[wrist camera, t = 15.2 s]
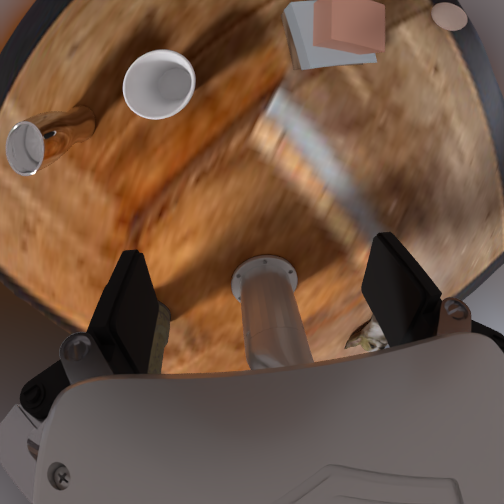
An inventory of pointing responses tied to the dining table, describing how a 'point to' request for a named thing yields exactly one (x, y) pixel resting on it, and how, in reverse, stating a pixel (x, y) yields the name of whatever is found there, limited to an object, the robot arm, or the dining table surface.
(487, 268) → the dining table surface
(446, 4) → the egg
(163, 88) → the dixie cup
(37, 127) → the beer glass
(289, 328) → the robot arm
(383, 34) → the rust cube
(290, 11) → the slate block
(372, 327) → the ceramic sculpture
